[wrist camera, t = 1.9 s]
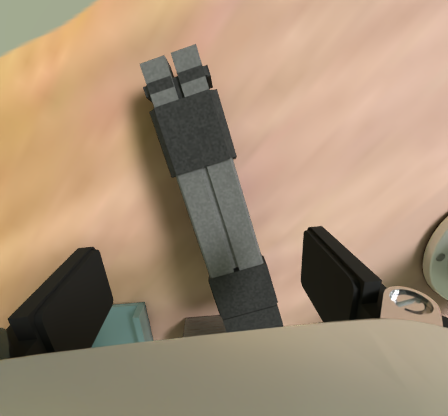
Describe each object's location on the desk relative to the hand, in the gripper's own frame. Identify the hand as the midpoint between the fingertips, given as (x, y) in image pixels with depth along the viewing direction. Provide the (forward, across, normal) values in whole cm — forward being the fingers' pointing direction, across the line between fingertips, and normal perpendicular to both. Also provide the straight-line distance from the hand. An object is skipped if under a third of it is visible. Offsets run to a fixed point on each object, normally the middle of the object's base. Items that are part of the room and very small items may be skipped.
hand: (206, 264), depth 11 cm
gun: (+11, -1, 0) cm, 11 cm away
